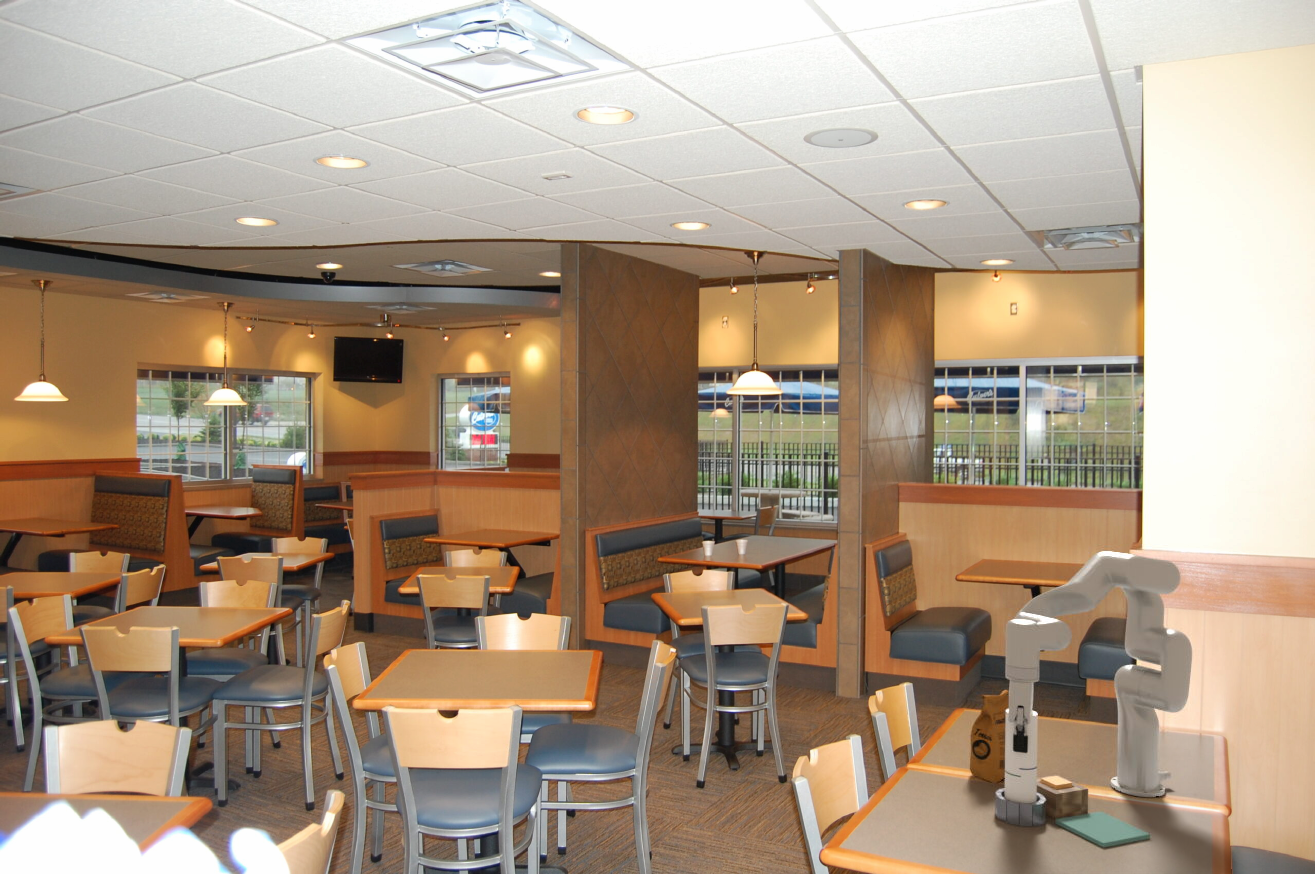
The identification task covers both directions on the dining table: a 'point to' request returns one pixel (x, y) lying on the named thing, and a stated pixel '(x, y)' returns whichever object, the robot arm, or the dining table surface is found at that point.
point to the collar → (1020, 810)
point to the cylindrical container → (1021, 763)
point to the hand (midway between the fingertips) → (1021, 746)
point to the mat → (1102, 829)
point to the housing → (1064, 800)
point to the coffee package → (990, 739)
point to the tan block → (1056, 782)
